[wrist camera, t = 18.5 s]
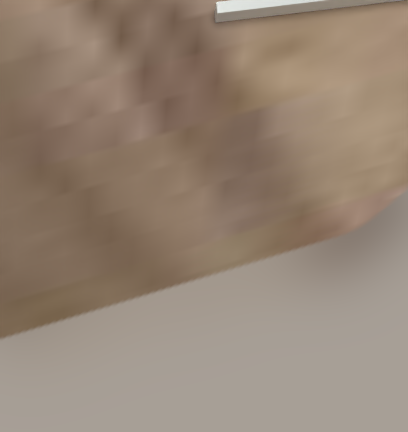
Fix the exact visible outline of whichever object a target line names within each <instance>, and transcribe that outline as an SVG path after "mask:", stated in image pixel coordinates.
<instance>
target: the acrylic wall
mask: <svg viewBox="0 0 408 432" xmlns="http://www.w3.org/2000/svg"><path fill="white" fill-rule="evenodd" d="M393 1H402V0H230V1H222V2H216V7H215V12H214V15H215V23H217V22H225V21H234V20H242V19H251V18H259V17H267V16H276V15H284V14H293V13H301V12H309V11H318V10H326V9H335V8H343V7H351V6H360V5H368V4H377V3H385V2H393Z"/></svg>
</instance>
